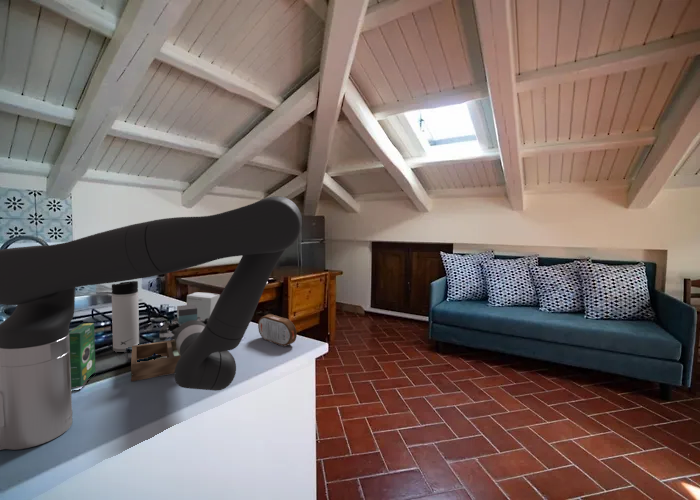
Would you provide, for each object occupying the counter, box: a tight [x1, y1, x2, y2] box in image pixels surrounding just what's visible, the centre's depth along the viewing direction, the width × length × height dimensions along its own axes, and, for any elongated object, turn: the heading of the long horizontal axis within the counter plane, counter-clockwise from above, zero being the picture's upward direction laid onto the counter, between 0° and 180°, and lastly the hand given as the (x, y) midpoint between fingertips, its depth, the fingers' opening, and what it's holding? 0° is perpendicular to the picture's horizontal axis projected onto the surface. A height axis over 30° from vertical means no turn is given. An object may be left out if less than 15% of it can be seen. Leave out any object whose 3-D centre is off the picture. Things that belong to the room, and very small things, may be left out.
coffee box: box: [69, 322, 96, 387], centre depth 74 cm, size 8×3×13 cm, turn 19°
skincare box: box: [186, 291, 221, 320], centre depth 103 cm, size 8×6×15 cm
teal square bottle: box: [176, 304, 197, 355], centre depth 88 cm, size 4×4×12 cm
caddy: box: [130, 339, 181, 382], centre depth 86 cm, size 17×13×4 cm
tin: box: [257, 313, 298, 347], centre depth 104 cm, size 15×3×8 cm, turn 58°
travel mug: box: [111, 280, 140, 353], centre depth 93 cm, size 6×7×20 cm
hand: (185, 320), depth 90 cm, fingers closed on teal square bottle, 4 cm apart
